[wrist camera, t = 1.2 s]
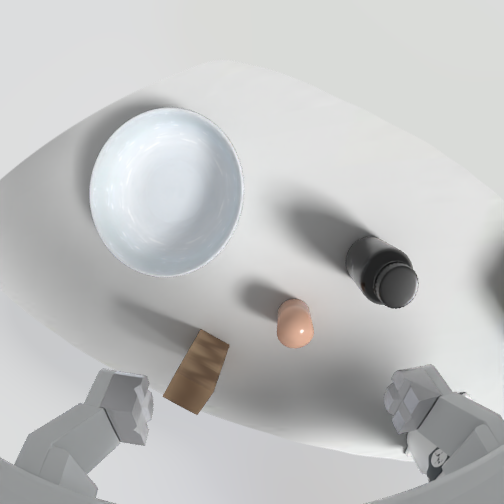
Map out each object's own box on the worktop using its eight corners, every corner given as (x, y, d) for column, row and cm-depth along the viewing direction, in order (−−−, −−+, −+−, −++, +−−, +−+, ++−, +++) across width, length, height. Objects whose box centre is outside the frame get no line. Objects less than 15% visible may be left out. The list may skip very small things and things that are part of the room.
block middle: (225, 358, 40) (219, 373, 36) (210, 380, 41) (204, 396, 37) (193, 341, 40) (185, 355, 36) (180, 364, 41) (172, 379, 37)
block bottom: (229, 344, 44) (225, 358, 40) (215, 366, 45) (210, 380, 41) (200, 328, 44) (193, 341, 40) (188, 351, 45) (180, 364, 41)
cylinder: (315, 308, 41) (320, 326, 35) (298, 333, 42) (300, 353, 36) (288, 293, 41) (289, 309, 35) (271, 318, 42) (270, 338, 36)
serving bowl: (252, 115, 37) (246, 101, 30) (248, 268, 41) (241, 283, 34) (116, 126, 39) (91, 118, 32) (116, 260, 43) (91, 271, 36)
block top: (219, 373, 36) (213, 392, 32) (204, 396, 37) (197, 414, 33) (185, 355, 36) (176, 371, 32) (172, 379, 37) (162, 396, 33)
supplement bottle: (334, 264, 40) (355, 293, 28) (365, 225, 38) (397, 240, 27) (369, 292, 40) (398, 328, 28) (398, 255, 39) (437, 279, 27)
